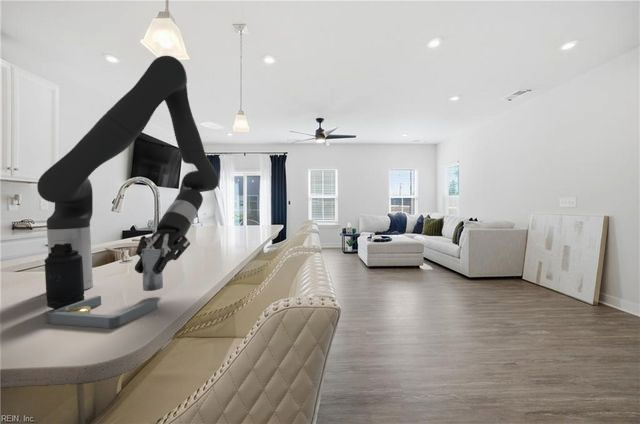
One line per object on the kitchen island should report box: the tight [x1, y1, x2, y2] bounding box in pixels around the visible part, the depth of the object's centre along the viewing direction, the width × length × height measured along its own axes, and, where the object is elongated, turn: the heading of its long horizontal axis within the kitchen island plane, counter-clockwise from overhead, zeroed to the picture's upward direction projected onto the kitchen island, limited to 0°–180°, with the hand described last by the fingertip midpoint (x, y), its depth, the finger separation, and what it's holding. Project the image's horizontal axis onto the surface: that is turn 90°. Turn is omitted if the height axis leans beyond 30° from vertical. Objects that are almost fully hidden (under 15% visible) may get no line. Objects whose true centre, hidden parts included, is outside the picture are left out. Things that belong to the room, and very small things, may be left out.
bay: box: [44, 295, 158, 329], centre depth 64 cm, size 16×11×2 cm
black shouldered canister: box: [44, 243, 85, 310], centre depth 68 cm, size 7×7×15 cm
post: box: [142, 247, 164, 292], centre depth 75 cm, size 4×4×10 cm
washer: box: [67, 306, 92, 314], centre depth 63 cm, size 4×4×2 cm
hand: (147, 271), depth 74 cm, fingers closed on post, 4 cm apart
